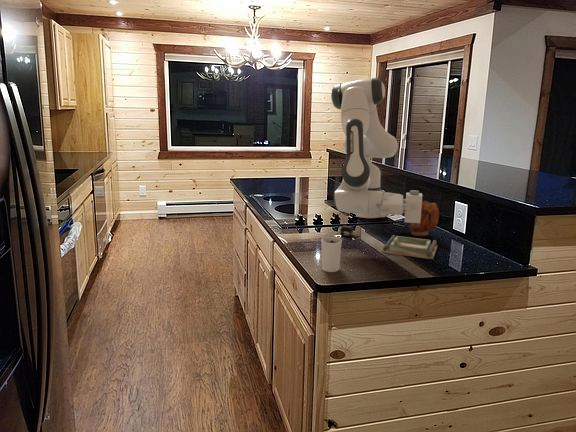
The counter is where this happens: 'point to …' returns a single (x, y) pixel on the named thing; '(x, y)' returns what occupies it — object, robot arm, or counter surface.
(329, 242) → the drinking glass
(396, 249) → the tray
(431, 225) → the orange brown rounded block
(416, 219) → the white capped container
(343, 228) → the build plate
